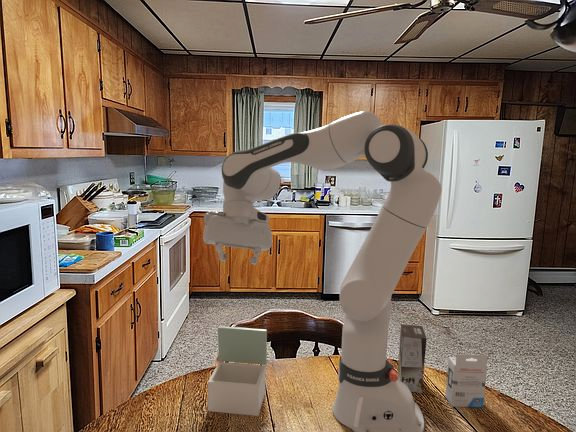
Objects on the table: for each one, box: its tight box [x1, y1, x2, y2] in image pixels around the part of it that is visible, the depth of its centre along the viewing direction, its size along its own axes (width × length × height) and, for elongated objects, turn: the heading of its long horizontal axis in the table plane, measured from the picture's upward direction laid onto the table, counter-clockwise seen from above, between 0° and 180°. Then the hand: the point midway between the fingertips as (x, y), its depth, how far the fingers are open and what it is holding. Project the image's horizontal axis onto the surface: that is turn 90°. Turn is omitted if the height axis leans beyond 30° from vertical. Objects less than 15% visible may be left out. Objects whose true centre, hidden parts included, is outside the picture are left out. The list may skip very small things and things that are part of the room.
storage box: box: [207, 361, 267, 417], centre depth 105 cm, size 13×10×8 cm
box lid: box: [217, 325, 268, 366], centre depth 109 cm, size 13×10×1 cm
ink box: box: [444, 354, 488, 408], centre depth 107 cm, size 8×5×15 cm, turn 89°
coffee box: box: [397, 324, 428, 394], centre depth 115 cm, size 9×6×16 cm
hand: (238, 262), depth 110 cm, fingers open, 8 cm apart
